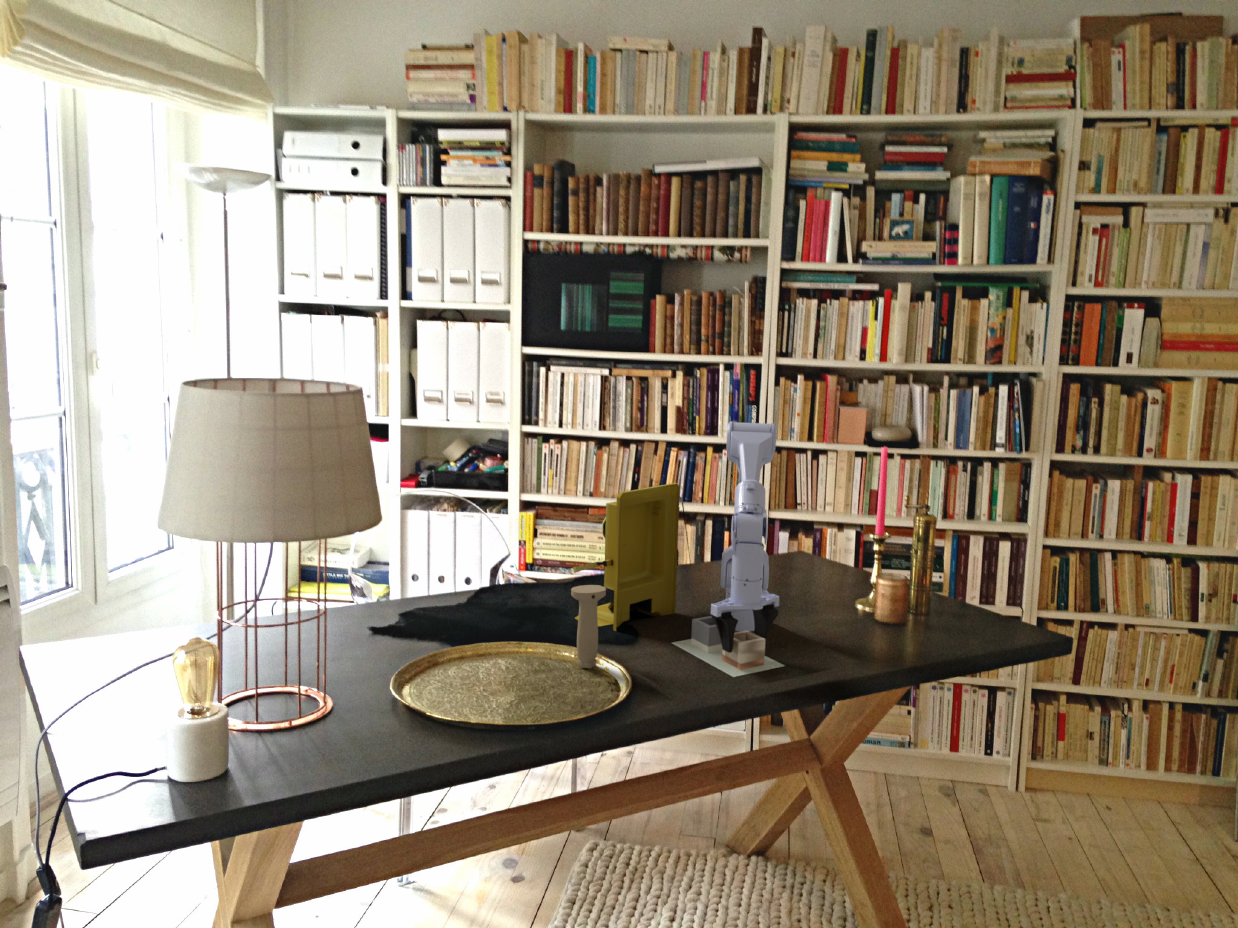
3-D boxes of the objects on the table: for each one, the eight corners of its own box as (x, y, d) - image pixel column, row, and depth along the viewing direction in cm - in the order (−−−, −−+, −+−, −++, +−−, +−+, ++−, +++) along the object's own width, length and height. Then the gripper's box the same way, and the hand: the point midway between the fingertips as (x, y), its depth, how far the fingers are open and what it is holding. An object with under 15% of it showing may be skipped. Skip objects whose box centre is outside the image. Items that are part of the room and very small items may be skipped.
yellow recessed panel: (653, 597, 233) (657, 469, 227) (699, 612, 223) (704, 478, 218) (550, 627, 211) (552, 485, 206) (596, 644, 201) (600, 496, 196)
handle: (607, 668, 188) (609, 590, 186) (575, 672, 186) (576, 594, 183) (597, 659, 193) (599, 583, 190) (566, 663, 190) (567, 586, 188)
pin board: (720, 640, 205) (721, 616, 204) (784, 673, 188) (786, 647, 187) (671, 649, 199) (672, 625, 198) (733, 684, 182) (734, 658, 181)
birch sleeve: (745, 655, 193) (746, 630, 192) (764, 664, 188) (765, 639, 187) (721, 660, 190) (723, 634, 189) (740, 669, 185) (741, 643, 184)
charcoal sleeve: (714, 639, 201) (715, 615, 200) (731, 647, 197) (732, 623, 196) (691, 643, 198) (692, 619, 198) (707, 652, 194) (709, 627, 193)
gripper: (728, 587, 179) (725, 660, 181) (791, 577, 187) (787, 647, 189) (705, 577, 185) (702, 648, 187) (767, 568, 193) (763, 636, 195)
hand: (743, 647), depth 189 cm, fingers open, 7 cm apart
